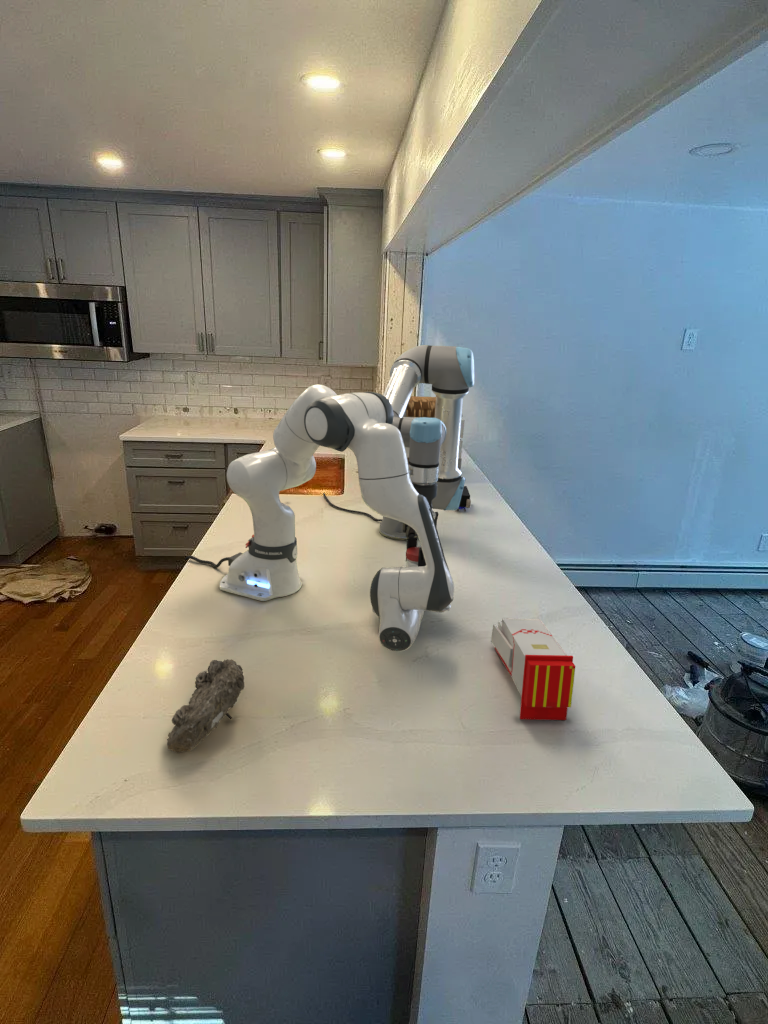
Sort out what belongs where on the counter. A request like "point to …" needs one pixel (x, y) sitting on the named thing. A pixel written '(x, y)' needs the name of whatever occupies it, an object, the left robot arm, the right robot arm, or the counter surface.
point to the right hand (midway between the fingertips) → (416, 565)
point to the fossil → (206, 705)
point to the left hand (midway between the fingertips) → (415, 581)
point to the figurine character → (465, 499)
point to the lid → (412, 553)
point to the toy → (535, 667)
